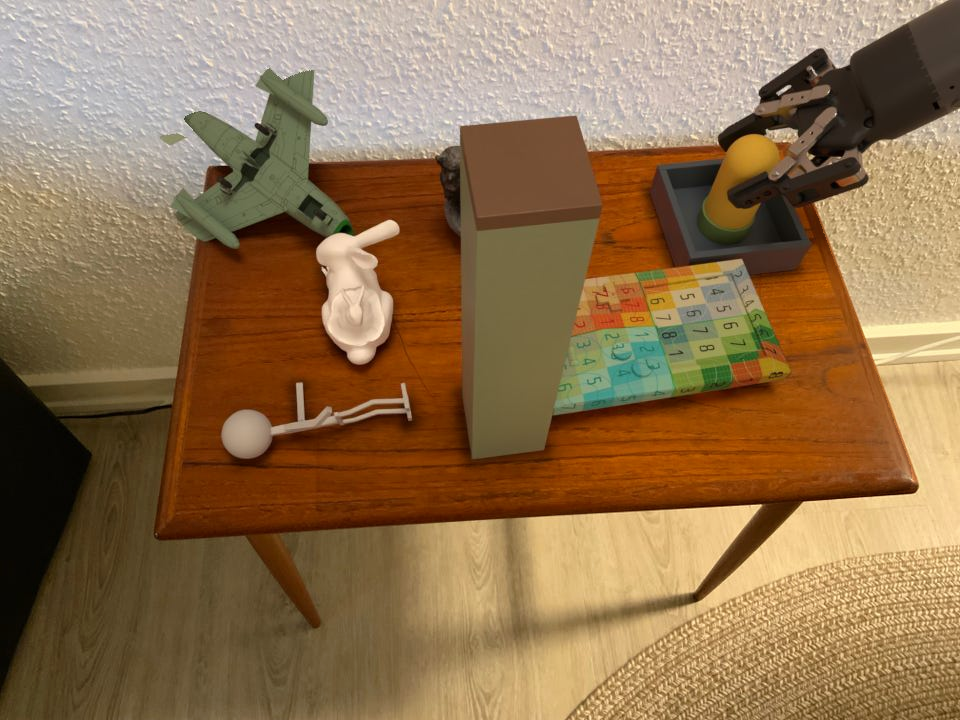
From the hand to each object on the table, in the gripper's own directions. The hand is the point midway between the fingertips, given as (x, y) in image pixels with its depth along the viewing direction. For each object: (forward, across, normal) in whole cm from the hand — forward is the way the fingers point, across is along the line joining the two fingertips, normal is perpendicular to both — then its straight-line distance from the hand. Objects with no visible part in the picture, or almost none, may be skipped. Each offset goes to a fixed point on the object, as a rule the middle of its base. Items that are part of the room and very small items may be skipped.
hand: (727, 172), depth 66 cm
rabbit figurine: (+28, +11, -17) cm, 35 cm away
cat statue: (+20, +1, -8) cm, 21 cm away
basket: (+4, 0, +7) cm, 8 cm away
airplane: (+33, -4, -32) cm, 46 cm away
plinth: (+19, +22, -8) cm, 30 cm away
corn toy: (+4, 0, +6) cm, 7 cm away
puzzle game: (+10, +14, +1) cm, 18 cm away
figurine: (+23, +20, -16) cm, 34 cm away
